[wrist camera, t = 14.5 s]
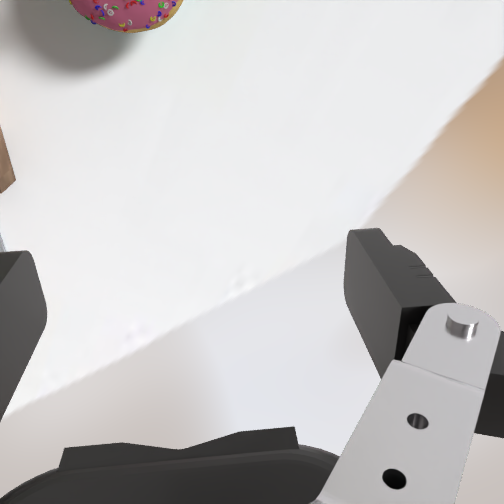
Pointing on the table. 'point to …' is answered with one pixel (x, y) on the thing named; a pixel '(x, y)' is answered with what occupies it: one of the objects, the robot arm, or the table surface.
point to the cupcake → (127, 13)
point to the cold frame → (5, 166)
